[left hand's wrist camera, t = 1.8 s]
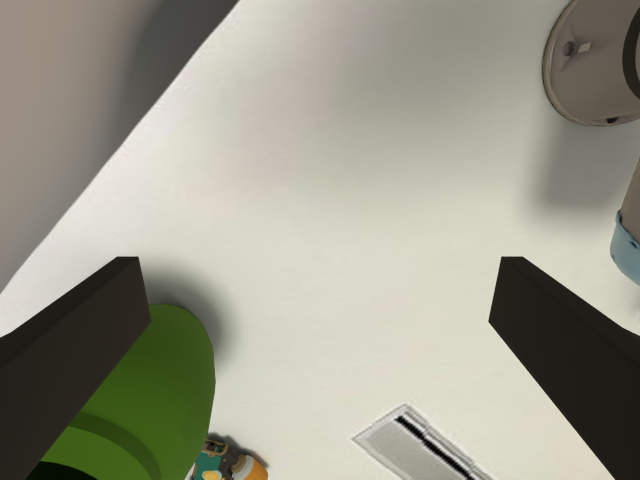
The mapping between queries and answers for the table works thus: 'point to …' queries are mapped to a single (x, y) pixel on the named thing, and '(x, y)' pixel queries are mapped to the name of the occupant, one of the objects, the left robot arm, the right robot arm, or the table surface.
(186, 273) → the table surface
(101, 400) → the vase
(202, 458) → the spray gun
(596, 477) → the table surface
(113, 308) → the left robot arm
